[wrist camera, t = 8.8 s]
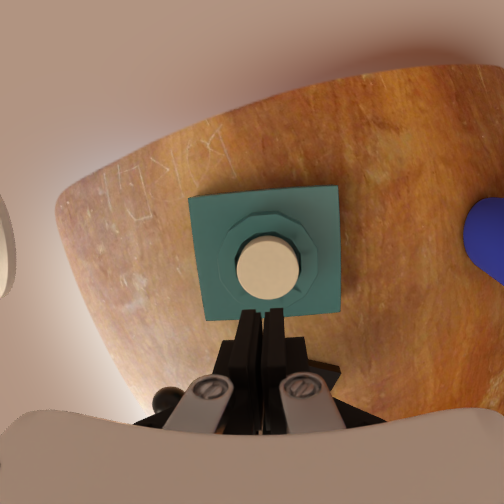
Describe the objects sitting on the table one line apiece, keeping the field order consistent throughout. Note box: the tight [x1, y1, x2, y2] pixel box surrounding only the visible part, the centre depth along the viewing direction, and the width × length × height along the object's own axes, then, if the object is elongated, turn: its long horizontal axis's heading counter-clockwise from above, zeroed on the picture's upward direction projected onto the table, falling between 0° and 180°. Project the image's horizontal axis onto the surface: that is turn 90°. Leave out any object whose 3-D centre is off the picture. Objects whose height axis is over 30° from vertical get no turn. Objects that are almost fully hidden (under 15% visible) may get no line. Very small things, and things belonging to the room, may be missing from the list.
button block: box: [188, 184, 341, 321], centre depth 22 cm, size 11×10×4 cm
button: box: [237, 235, 299, 299], centre depth 20 cm, size 4×4×2 cm
